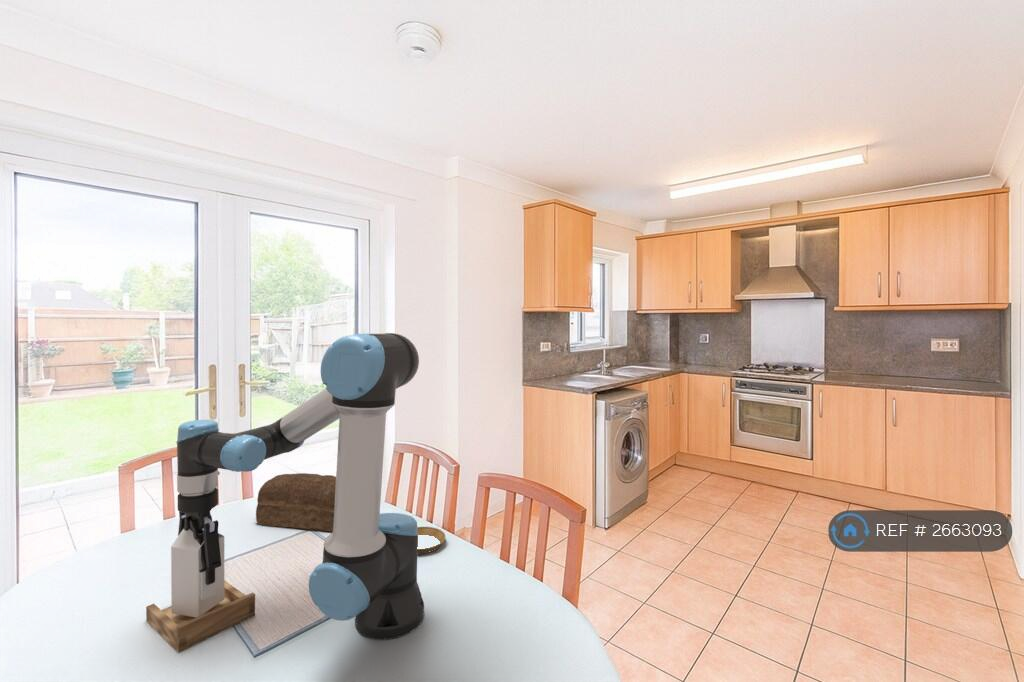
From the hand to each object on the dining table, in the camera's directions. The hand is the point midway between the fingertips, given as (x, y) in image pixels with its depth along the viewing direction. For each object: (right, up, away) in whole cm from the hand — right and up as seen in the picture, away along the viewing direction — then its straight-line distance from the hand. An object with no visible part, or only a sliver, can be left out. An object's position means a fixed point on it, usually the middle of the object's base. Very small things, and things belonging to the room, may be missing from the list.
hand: (198, 589), depth 106 cm
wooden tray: (+1, -6, -1) cm, 6 cm away
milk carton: (0, -4, 0) cm, 4 cm away
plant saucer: (+43, -6, +36) cm, 56 cm away
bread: (+2, -5, +52) cm, 52 cm away
